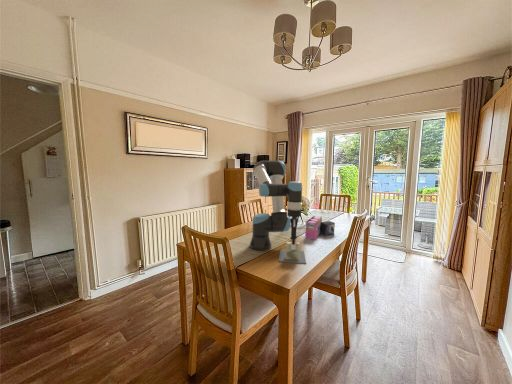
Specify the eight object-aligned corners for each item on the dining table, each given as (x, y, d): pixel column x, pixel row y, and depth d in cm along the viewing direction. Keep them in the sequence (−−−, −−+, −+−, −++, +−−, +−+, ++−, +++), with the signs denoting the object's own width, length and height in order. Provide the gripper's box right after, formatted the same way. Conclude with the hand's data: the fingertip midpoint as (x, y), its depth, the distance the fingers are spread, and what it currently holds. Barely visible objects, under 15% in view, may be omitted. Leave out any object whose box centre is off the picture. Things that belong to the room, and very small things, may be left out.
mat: (278, 261, 129) (278, 260, 128) (280, 250, 146) (280, 249, 146) (306, 264, 126) (306, 263, 126) (303, 251, 144) (303, 251, 144)
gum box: (313, 230, 192) (313, 215, 191) (322, 231, 188) (322, 216, 187) (304, 238, 172) (305, 221, 170) (314, 239, 168) (315, 223, 166)
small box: (325, 236, 177) (325, 224, 175) (319, 234, 182) (320, 222, 181) (334, 234, 181) (335, 222, 180) (328, 232, 187) (329, 220, 186)
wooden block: (285, 258, 131) (286, 243, 130) (285, 257, 134) (286, 241, 133) (299, 259, 130) (299, 244, 129) (298, 257, 133) (299, 242, 132)
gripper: (301, 211, 114) (300, 254, 116) (300, 207, 127) (299, 245, 129) (287, 211, 115) (286, 253, 118) (287, 206, 128) (286, 244, 130)
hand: (293, 249), depth 123 cm, fingers closed
